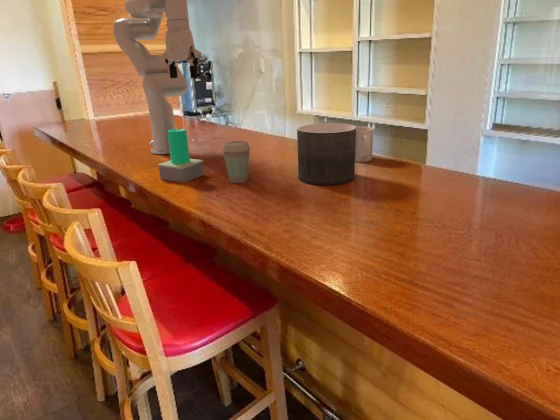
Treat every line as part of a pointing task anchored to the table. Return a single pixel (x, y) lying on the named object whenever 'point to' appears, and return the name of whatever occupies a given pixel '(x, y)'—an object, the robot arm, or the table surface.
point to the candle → (178, 146)
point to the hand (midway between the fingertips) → (184, 77)
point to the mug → (363, 144)
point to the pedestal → (181, 170)
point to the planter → (326, 153)
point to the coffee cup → (237, 160)
